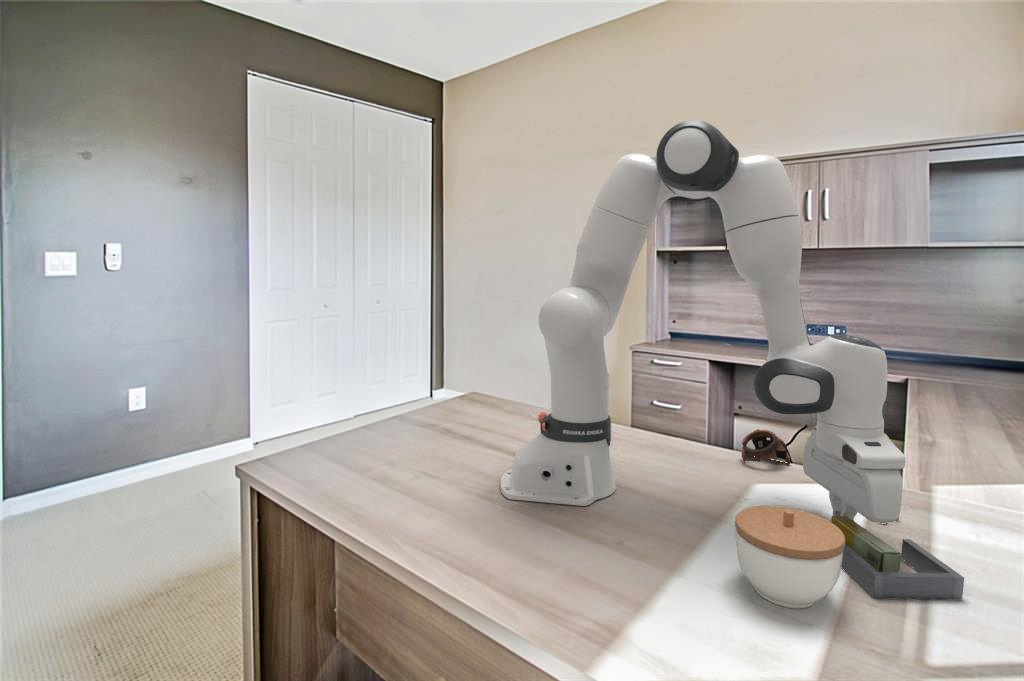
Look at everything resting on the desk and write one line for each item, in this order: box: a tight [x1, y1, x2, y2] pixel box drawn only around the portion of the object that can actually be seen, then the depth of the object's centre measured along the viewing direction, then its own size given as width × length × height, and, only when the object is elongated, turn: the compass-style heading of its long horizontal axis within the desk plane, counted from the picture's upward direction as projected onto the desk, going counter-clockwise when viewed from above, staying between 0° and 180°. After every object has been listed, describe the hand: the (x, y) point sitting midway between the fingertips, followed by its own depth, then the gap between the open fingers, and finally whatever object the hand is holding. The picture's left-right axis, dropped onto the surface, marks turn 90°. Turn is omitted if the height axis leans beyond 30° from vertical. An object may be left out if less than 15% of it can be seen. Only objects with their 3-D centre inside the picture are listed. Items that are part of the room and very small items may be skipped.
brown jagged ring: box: [741, 429, 791, 465], centre depth 120 cm, size 12×10×8 cm
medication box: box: [830, 515, 902, 572], centre depth 79 cm, size 12×3×4 cm, turn 1°
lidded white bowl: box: [734, 505, 845, 609], centre depth 70 cm, size 13×13×11 cm
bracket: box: [841, 538, 965, 600], centre depth 74 cm, size 11×10×3 cm
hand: (842, 523), depth 86 cm, fingers closed
